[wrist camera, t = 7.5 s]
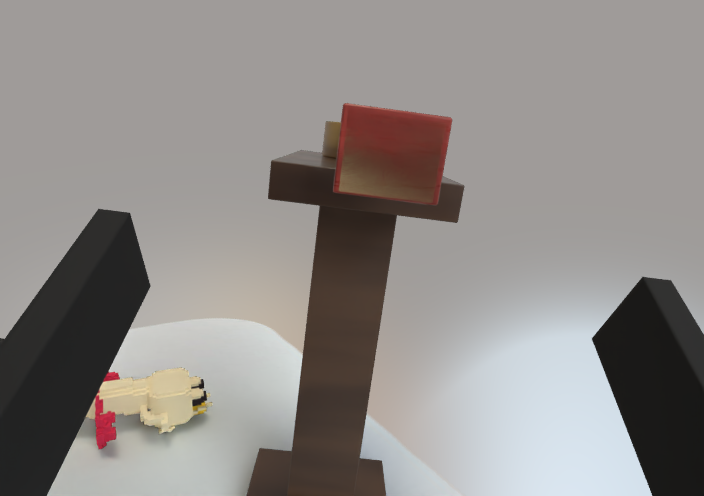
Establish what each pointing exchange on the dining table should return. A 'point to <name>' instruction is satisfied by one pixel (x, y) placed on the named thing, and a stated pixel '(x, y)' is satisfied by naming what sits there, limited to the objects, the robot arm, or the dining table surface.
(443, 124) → the pointer
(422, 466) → the dining table surface
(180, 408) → the cream toy animal figure
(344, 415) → the stand
